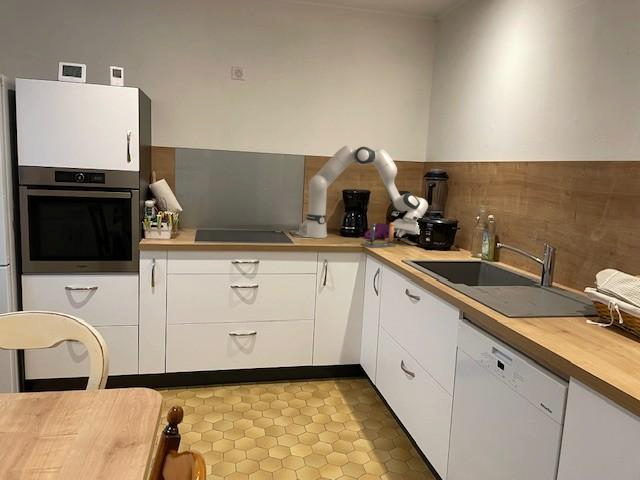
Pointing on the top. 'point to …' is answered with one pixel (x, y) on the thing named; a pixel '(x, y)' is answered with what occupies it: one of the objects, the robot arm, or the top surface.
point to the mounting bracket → (379, 231)
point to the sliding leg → (391, 232)
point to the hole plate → (378, 244)
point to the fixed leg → (372, 233)
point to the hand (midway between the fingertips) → (398, 236)
